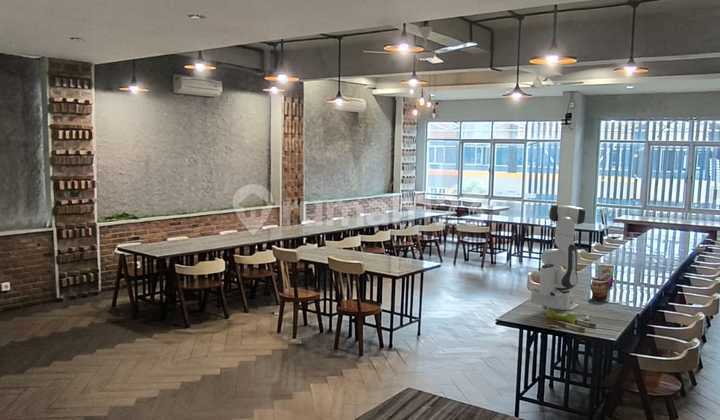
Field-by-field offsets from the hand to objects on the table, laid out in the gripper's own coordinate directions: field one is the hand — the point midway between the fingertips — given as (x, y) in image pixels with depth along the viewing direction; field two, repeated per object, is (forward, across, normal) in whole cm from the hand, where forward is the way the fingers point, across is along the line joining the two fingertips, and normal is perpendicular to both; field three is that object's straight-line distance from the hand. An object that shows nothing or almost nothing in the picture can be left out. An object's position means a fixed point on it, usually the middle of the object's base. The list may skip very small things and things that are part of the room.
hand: (545, 313), depth 353 cm
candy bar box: (+4, -23, +118) cm, 120 cm away
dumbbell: (+4, +10, 0) cm, 11 cm away
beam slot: (+4, +15, 0) cm, 16 cm away
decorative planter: (+4, -5, +74) cm, 74 cm away
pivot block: (+4, +21, +10) cm, 24 cm away
